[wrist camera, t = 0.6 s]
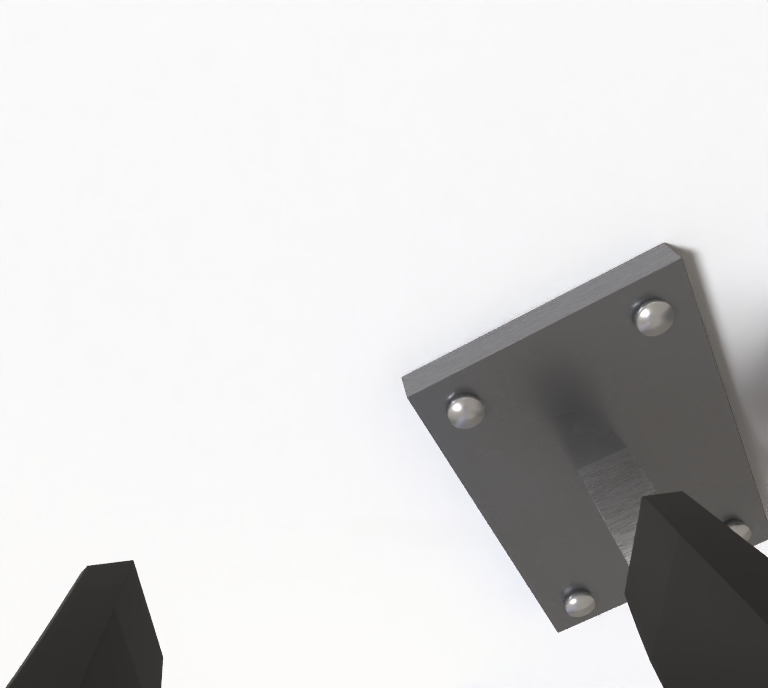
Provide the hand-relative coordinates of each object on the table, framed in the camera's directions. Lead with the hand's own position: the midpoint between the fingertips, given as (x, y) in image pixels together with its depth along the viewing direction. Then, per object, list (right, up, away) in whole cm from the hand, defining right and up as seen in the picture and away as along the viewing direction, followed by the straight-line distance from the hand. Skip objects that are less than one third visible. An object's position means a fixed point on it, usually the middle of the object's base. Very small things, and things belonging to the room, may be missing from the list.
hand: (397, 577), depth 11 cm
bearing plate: (+7, 0, +13) cm, 14 cm away
